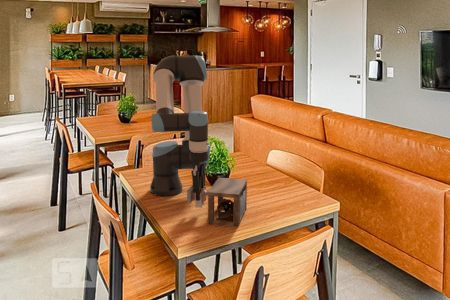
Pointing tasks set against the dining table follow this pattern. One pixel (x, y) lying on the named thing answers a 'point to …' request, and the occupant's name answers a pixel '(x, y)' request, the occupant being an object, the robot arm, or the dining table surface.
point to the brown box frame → (205, 193)
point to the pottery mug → (225, 208)
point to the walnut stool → (227, 189)
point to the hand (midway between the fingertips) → (199, 205)
